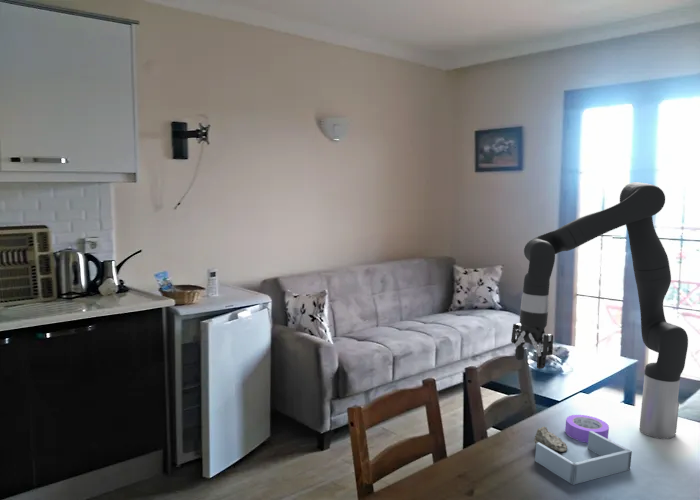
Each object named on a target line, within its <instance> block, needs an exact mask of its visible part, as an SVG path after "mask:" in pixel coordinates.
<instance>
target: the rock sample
mask: <svg viewBox="0 0 700 500" xmlns="http://www.w3.org/2000/svg"><path fill="white" fill-rule="evenodd" d="M535 433H536V434H535V435H534V440H533V441H534V443H535V444H536V443H538V442H540V443H541V444H543V445H545V446H546V447H548V448H550V449H551V450H554V451H556V452H563V453H564V452H567V450H568V445H567V443H566V442H564V441H563V440H562V439H561V438H560V437H558V436H557V435H555V434H554V433H552V432H550V431H549V429H548V428H547V427H546V426H542V427H541V428H538V429H537V431H536V432H535Z"/></svg>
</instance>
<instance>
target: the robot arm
mask: <svg viewBox="0 0 700 500" xmlns="http://www.w3.org/2000/svg"><path fill="white" fill-rule="evenodd" d="M665 203H666V195H665V192H664V191H663V190H662V189H661V188H660V187H658V186H657V185H654V184H651V183H646V182H638V181H634V182H630V183H627V184H626V185H624V187H623V188H622V190H621V192H620V195H619V203H617V204H614V205H613V206H610V207H607V208H605V209H603V210H599V211H596V212H593V213H590V214H585V215H584V216H581V217H579V218H576V219H574V220H572V221H570V222H567V223H565V224H564V225H562V226H561V227H559V228H557V229H555V230H553V231H550V232H546V233H542V235H538V236H536V237H534V238H532V239H531V240H529V241H528V242H527V243H526V244H525V246H524V249H523V255H524V256H525V258H526V259H527V260H528V262H529V263H528V270H527V273H526V274H525V275H524V279H523V285H522V286H523V287H522V288H523V289H522V295H521V299H520V300H521V301H520V313H519V323H518V322H517V323H513V325H512V332H511V337H510V338H511V339H510V341H511V343H512V344H514V345H515V348H516V349H515V359H516V360H518V361H522V360H523V359H524V356H525V355H524V354H525V347H524V346H525V345H526V344H530V345H531V346H533V348H534V349H535V350H536V353H537V360H536V368H537V369H538V370H542V369H544V368H545V367H546V361H547V359H546V358H547V356H552V355H553V353H554V351H553V350H554V335H553V334H552V333H546V332H545V328H546V327H547V326H548V316H549V306H550V298H549V296H550V295H549V294H550V279H551V277H552V274H553V269H554V266H555V261H556V254H559V253H561V252H562V253H563V252H568V251H571V250H573V249H576V248H578V247H581V246H582V245H584V244H587V243H588V242H589V241H592V240H594V239H596V238H598V237H600V236H602V235H604V234H606V233H608V232H611V231H614V230H615V229H618V228H620V227H623V226H626V230H627V234H628V235H627V236H628V241H629V249H630V254H631V259H632V267H633V268H632V269H633V273H634V278H635V279H634V280H635V283H636V290H637V295H638V304H639V310H640V311H639V313H640V328H641V330H640V331H641V332H640V333H641V338H642V342H643V344H644V346H645V347H646V348H648V349H649V350H651V351H653V352H656V353H658V354H657V359H656V361H655V362H649V363H647V364H646V365H645V368H644V376H643V387H642V396H641V397H642V398H641V408H640V409H641V410H640V416H639V417H640V418H639V427H638V428H639V431H640V432H641V433H643V434H645V435H647V436H649V437H652V438H656V439H665V440H666V439H669V440H670V439H672V438H674V437H675V435H676V434H677V428H678V427H677V426H678V420H679V419H678V417H679V410H680V409H679V408H680V403H679V393H680V383H681V376H682V374H683V371H684V370H685V366H686V360H687V353H688V348H689V336H688V334H687V332H686V330H685V329H684V328H682V327H681V326H678V325H675V324H673V323H671V322H670V323H669V322H667V320H666V317H665V310H664V300H665V298H666V296H667V294H668V291H669V289H670V286H671V283H672V274H671V267H670V261H669V258H668V254H667V252H666V250H665V247H664V245H663V243H662V242H661V240H660V237H659V236H658V233H657V232H656V229H655V226H654V221H653V216H655V215H657V214H658V213H659V212H661V210H662V209H663V208H664V206H665ZM675 433H676V434H675Z"/></svg>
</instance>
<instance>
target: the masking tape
mask: <svg viewBox="0 0 700 500" xmlns="http://www.w3.org/2000/svg"><path fill="white" fill-rule="evenodd" d="M609 430H610V427H609V425H608V423H607V422H606V421H603V420H602V419H600V418H597V417H595V416H590V415H585V414H572V415H569V416H567V417H566V419H565V429H564V431H565V433H566V435H567V436H568V437H570V438H572V439H574V440H576V441H579V442H582V443H587V444H588V439H589V431H593V432H595V433H597V434H599V435H601V436H603V437H605V438H607V439H609Z"/></svg>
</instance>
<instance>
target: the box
mask: <svg viewBox="0 0 700 500" xmlns="http://www.w3.org/2000/svg"><path fill="white" fill-rule="evenodd" d="M587 449H588V450H590V451H591V452H593V453H595V454H597V455H599V456H596V457H593V458H588V459H585V460H580V461H577V462H573V461H571V460H570V459H568V458H567V457H565V456H563V455H562V454H560V453H558V451H556V450H554V449H551V448H548V447H546V446H545V445H543V444H541V443H540V442H538V443H535V457H534V461H535V462H536V463H537V464H538V465H541V466H542V467H544V468H545V469H547V470H548V471H550V472H551V473H553V474H554V475H556V476H558V477H559V478H561V479H563V480H564V481H566V482H567V483H569V484H571V485H572V486H573V485H577V484H581V483H585V482H588V481H592V480H595V479H599V478H604V477H608V476H611V475H615V474H619V473H623V472H626V471H631V467H632V466H631V465H632V464H631V463H632V455H633V454H632V453H633V451H632V450H630V449H628V448H626V447H625V446H623V445H620V444H619V443H617V442H615V441H612V440H611V439H609V438H608V439H607V438H605V437H603V436H601V435H599V434H597V433H595V432H593V431H589V439H588V443H587Z"/></svg>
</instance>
